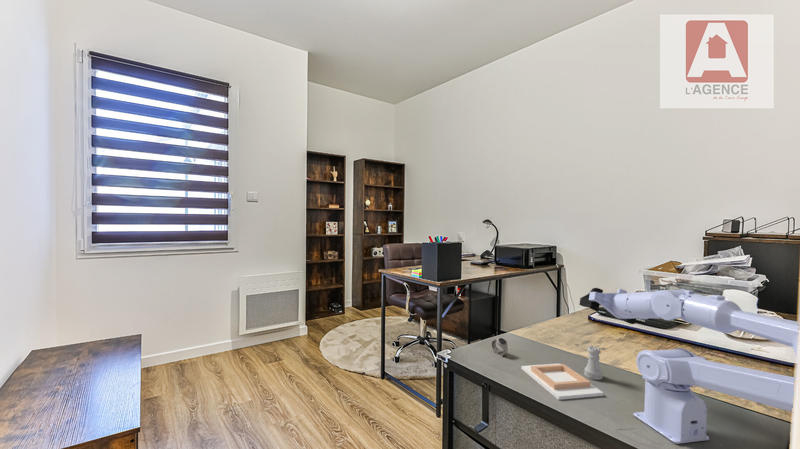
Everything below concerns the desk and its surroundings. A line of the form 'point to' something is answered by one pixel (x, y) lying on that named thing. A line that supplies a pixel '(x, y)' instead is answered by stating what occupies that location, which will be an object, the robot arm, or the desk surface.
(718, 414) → the desk surface
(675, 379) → the robot arm
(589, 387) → the socket holder
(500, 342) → the wristwatch
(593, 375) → the rook chess piece
